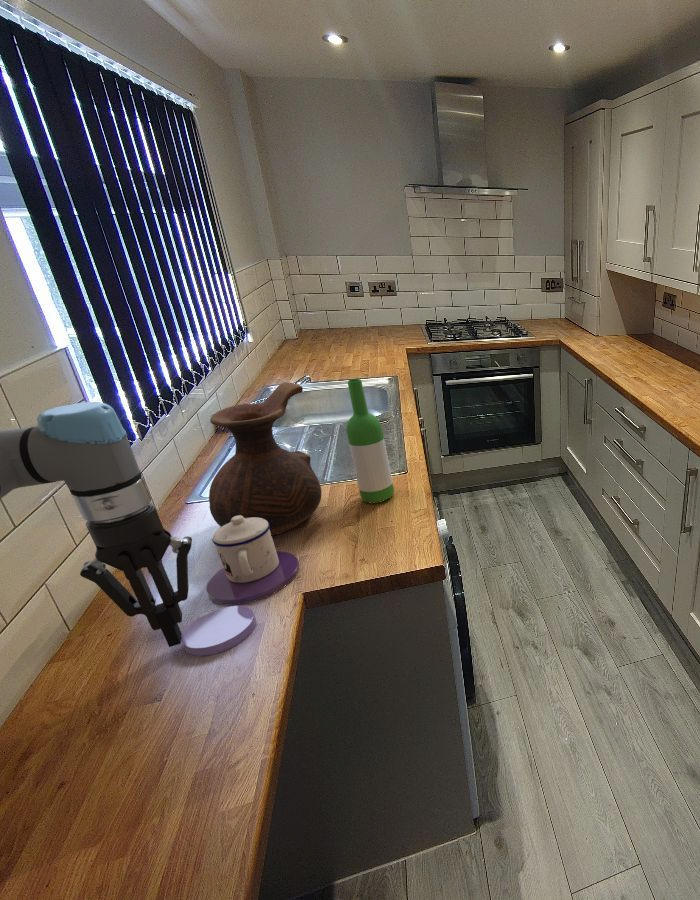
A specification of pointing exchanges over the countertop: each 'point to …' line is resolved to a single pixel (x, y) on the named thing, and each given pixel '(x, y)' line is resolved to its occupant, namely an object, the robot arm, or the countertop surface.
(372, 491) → the wine bottle
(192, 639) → the lilac dish
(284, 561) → the saucer
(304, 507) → the jug
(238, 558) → the teacup with lid
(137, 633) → the countertop surface
